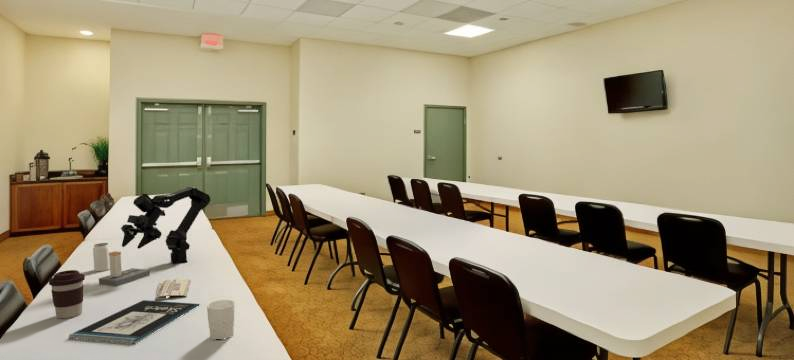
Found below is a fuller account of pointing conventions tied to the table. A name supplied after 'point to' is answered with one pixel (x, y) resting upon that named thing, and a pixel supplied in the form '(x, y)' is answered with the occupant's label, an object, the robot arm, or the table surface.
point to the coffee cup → (67, 293)
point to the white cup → (221, 319)
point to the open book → (173, 288)
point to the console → (124, 277)
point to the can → (101, 257)
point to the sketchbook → (134, 322)
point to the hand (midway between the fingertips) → (130, 247)
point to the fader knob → (115, 264)
